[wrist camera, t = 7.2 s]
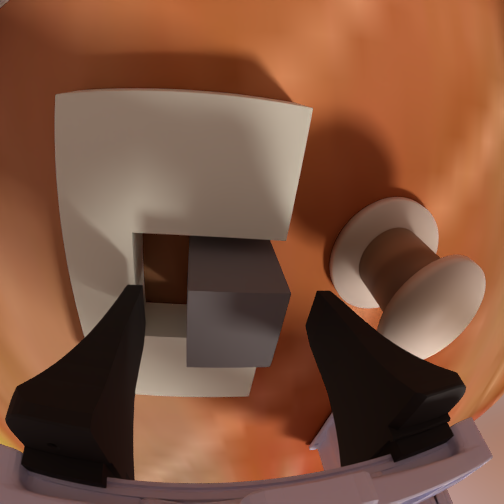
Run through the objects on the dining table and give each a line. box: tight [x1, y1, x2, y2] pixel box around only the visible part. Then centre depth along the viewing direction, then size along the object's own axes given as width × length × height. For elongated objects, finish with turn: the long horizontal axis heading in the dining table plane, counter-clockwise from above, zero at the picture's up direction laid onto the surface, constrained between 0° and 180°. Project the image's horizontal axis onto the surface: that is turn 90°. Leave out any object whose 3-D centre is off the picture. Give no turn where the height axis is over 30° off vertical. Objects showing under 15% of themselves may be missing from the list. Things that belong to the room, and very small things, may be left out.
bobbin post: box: [329, 197, 486, 359], centre depth 15 cm, size 7×7×6 cm
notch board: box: [55, 88, 313, 397], centre depth 14 cm, size 16×9×2 cm, turn 172°
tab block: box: [186, 235, 291, 368], centre depth 14 cm, size 4×4×5 cm
